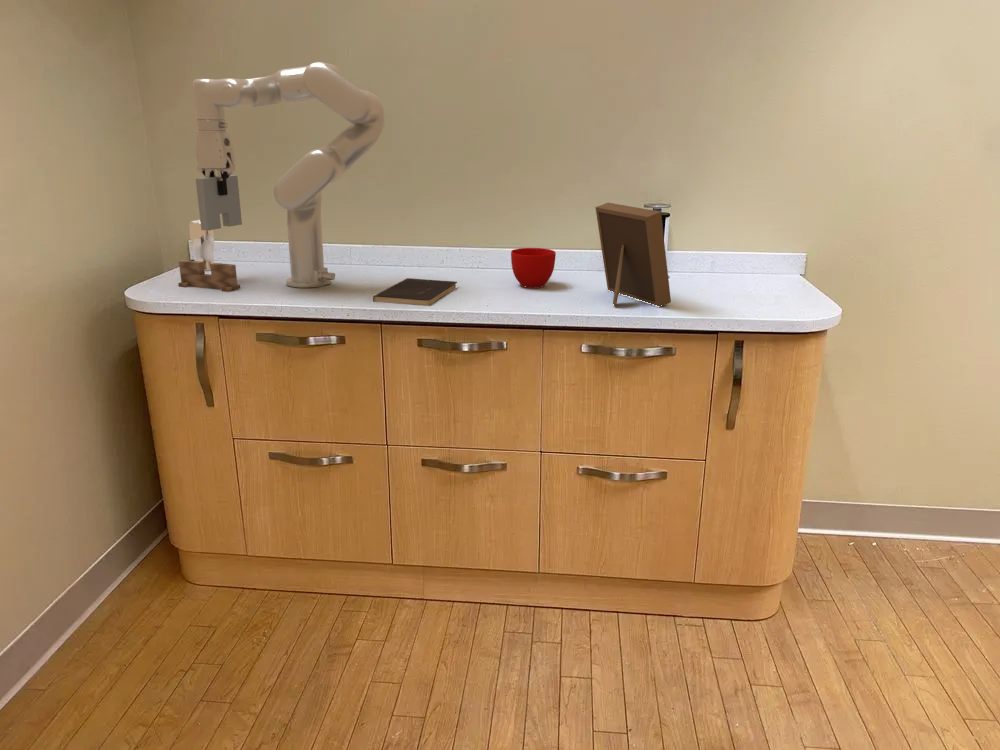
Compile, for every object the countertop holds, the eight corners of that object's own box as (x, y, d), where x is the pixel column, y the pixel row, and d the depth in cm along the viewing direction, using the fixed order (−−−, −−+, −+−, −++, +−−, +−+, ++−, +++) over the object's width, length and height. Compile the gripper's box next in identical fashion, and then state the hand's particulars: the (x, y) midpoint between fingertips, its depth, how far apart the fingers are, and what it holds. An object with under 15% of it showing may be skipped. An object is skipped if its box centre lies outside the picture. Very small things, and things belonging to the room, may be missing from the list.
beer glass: (222, 268, 243) (217, 220, 238) (203, 271, 237) (198, 223, 233) (207, 265, 246) (202, 219, 242) (189, 269, 241) (183, 221, 236)
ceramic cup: (555, 278, 233) (556, 246, 230) (553, 291, 217) (554, 256, 214) (513, 277, 234) (513, 245, 231) (508, 289, 218) (509, 255, 215)
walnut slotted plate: (241, 288, 217) (238, 263, 214) (229, 291, 212) (227, 266, 210) (190, 282, 222) (187, 259, 220) (178, 286, 218) (174, 262, 216)
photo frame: (619, 289, 220) (624, 201, 211) (670, 305, 202) (678, 210, 194) (577, 295, 213) (580, 204, 205) (626, 312, 195) (632, 214, 187)
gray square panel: (241, 224, 225) (237, 175, 220) (208, 230, 213) (202, 179, 208) (235, 223, 226) (230, 175, 221) (201, 229, 214) (195, 178, 209)
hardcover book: (457, 289, 221) (457, 281, 220) (429, 308, 200) (429, 299, 199) (405, 285, 224) (405, 278, 224) (373, 303, 204) (372, 295, 203)
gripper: (244, 127, 211) (250, 195, 217) (198, 125, 216) (205, 192, 222) (225, 127, 204) (232, 197, 210) (178, 126, 210) (186, 194, 216)
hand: (218, 194), depth 216 cm, fingers closed on gray square panel, 2 cm apart
